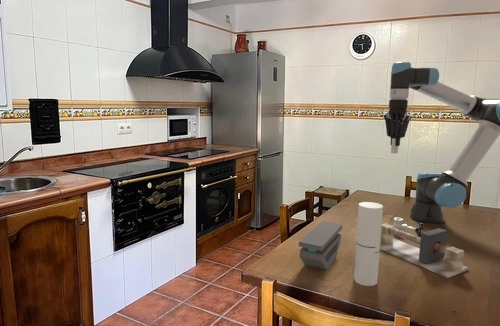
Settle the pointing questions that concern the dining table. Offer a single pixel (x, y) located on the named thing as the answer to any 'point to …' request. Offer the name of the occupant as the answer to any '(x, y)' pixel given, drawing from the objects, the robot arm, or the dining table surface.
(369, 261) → the cylindrical container
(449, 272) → the rail
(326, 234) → the grey grooved block
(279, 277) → the dining table surface
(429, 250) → the collar
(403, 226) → the valve
